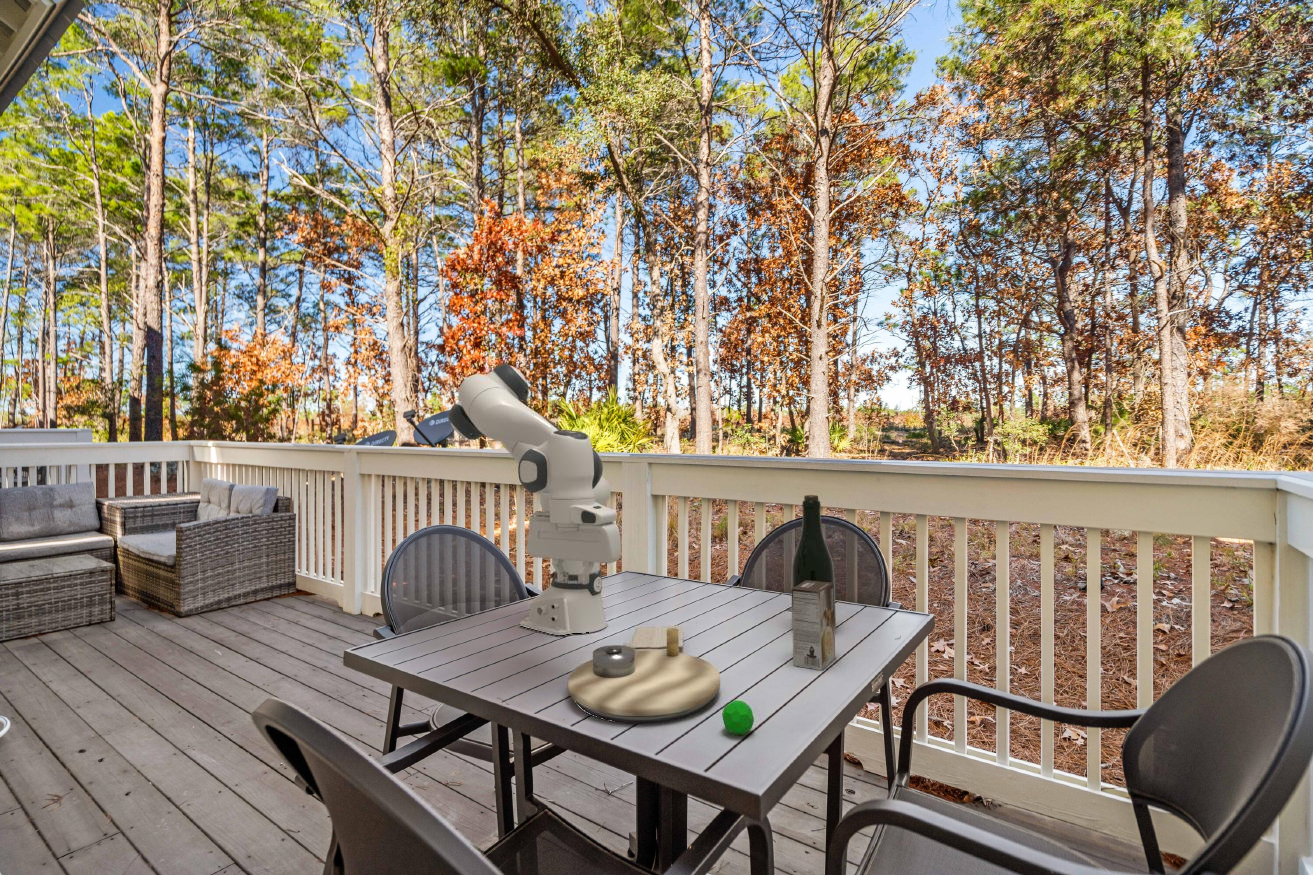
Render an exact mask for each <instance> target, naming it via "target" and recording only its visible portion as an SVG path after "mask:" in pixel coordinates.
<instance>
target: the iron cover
mask: <svg viewBox="0 0 1313 875" xmlns="http://www.w3.org/2000/svg"><path fill="white" fill-rule="evenodd" d="M592 659H593V673H594V674H595V675H597V676H599V677H603V678H620V677H625V676H628V675H631V674H632V673H634V672H635V650H634V649H633V648H631V647H628V646H623V645H620V644H615V645H614V644H613V645H612V644H611V645H604V646H600V647H598V648H595V649H594V650H593V651H592Z"/></svg>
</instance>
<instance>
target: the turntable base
mask: <svg viewBox="0 0 1313 875" xmlns="http://www.w3.org/2000/svg"><path fill="white" fill-rule="evenodd" d="M622 646H628V647H631V648H633V646H632V642H629V643H628V642H627V643H623V645H622ZM715 696H716V695H715ZM715 696H714V697H713V698H712V699H711V700H709V701H708V702H706V703H704V704H702V705H700V706H698V707H695V708H692V709H689V710H685V711H682V712H677V713H672V714H665V715H656V716H623V715H614V714H608V713H603V712H599V711H595V710H593V709H590V708H587V707H585V706H583V705H581V704H579V703H578V702H576V703H577V704H578V705H579V706H580V707H581V708H582V709H583V710H585V711H586V712H588V713H590V714H592V715H594V716H597V717H599V718H598V719H600V718H603V719H605V720H604V721H607V720H612V721H615V722H614V723H618V722H621V723H620V724H627V725H629V724H631V725H632V724H633V725H649V724H660V723H661V724H662V723H668V722H673V721H678V720H682V719H686V718H688V717H692V716H694V715H697V714H698V713H700V712H702V711H704V710H705V709H707V708H708V707H709V706H710V705H711V704H712V703H713V701H714V699H715ZM576 703H575V704H576ZM594 716H593V717H594ZM597 717H596V718H597ZM603 719H602V720H603ZM612 721H611V722H612Z"/></svg>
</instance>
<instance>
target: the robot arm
mask: <svg viewBox="0 0 1313 875" xmlns="http://www.w3.org/2000/svg"><path fill="white" fill-rule="evenodd" d="M529 390H530V388H529V385H528V382H527V379H526V377H525V376H524V374H523V373H522V372H521V370H519V369H518V368H517V367H515V366H512V365H510V364H509V363H505V362H504V363H500V364H498V365H497V366H495V367H494V368H492V371H489V373H487V374H483V373H475V374H472V375H470V376H467V377H466V378H465V379H463V381H462V382H461V384H460V386H459V388H458V398H459V400H458V401H457V403H454V404H453V405H452V407H451V409H450V410H449V411H448V421H449V422H450V425H451V427H452V429H453V430H454V431H455V432H456V433H457V434H458V435H459V436H461V437H463V438H466V439H468V441H470V440H471V441H476V440H477V439H480V438H481V437H483V436H486V437H487V438H489V439H491V440H494V441H498V442H500V443H501V444H502V446H503V447H504V448H505V450H506V451H507V452H508V453H509V454H510V456H512V458H513V459H514V460H515V461H516V462H517V463H518V466H517V467H518V468H517V473H518V478H519V482H520V484H521V486H522V487H523V488H524V490H526V491H527V492H528V493H531V494H536V495H538V494H539V504H540V506H541V509H542V510H543V511H542V510H536V511H535V512H534V513H532V514H531V516H530V517H529V529H528V535H527V542H526V543H527V544H526V545H527V546H526V550H527V554H528V556H529V557H531V558H539V559H540V558H541V559H551V562H552V563H551V565H552V567H553V568H554V570H555V571H553V572H552V573H549V574H547V576H548V577H547V580H550V579H552V580H551V582H550V585H549V586H548V587H547V588H545V589H544V590H543V591H542V592H541V593H540V594H539V595H537V596H535V598H534V599H532V601H531V603H530V606H529V613H528V616H527V617H525V618H524V619H522V620H521V621H520V622H519V626H520V625H522V626H526V627H529V628H533V629H537V630H541V631H544V632H549V633H552V634H556V635H565V634H570V635H572V634H571V633H582V634H587V633H586V632H589V633H594V632H597V631H600V630H603V629H605V628H606V627H607V626H608V622H607V618H606V614H605V611H604V605H603V604H604V603H603V600H602V589H603V573H602V569H601V564H612V563H615V562H618V561H619V559H620V558H621V556H622V543H621V542H622V541H621V533H620V528H619V526H618V524H616V523H615V522H616V521H617V520H618V512H617V511H616V510H615V509H613V508H610V507H608V506H606V504H608V502H609V501H610V497H611V491H612V490H611V485H610V484H609V482H608V480H607V479H606V478H605V477H604V476H602V475H603V471H604V467H603V462H602V459H601V457H600V455H599V454H598V453H597V452H598V451H596V450H595V448H593V445H592V441H591V438H590V436H589V434H587V433H585V432H583V431H577V430H570V429H561V428H560V427H559V426H558V425H556V424H555V423H553V422H552V421H551V420H549V419H548V418H546V417H545V416H543V415H542V414H540V413H538V412H537V411H535V410H534V409H532V408H530V407H529V406H528V404H529V401H527V399H528V396H529V392H530V391H529ZM522 401H523V402H524V403H523V402H522ZM565 636H566V635H565Z"/></svg>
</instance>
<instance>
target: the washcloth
mask: <svg viewBox="0 0 1313 875" xmlns="http://www.w3.org/2000/svg"><path fill="white" fill-rule="evenodd" d="M670 628H675V629H678V642H679V653H682V654H683V651H684V637H685V636H684V626H683V625H667V626H658V627H657V626H637V627H636V628H635V631H634V633H633V636H632V640H631V644H632V646H633V649H634V650H635V651H667V629H670Z"/></svg>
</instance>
